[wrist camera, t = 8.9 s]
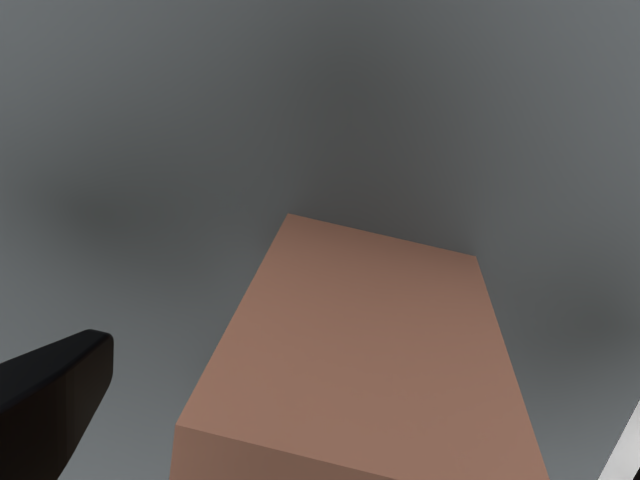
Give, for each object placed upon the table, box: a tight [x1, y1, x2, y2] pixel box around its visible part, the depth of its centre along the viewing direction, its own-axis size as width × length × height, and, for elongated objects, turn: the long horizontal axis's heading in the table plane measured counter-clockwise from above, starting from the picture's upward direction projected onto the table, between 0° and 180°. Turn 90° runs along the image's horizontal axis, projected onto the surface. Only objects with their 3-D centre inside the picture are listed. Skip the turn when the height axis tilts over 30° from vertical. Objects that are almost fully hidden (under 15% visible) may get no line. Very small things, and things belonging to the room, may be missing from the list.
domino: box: [169, 213, 550, 480], centre depth 11 cm, size 2×5×8 cm, turn 79°
